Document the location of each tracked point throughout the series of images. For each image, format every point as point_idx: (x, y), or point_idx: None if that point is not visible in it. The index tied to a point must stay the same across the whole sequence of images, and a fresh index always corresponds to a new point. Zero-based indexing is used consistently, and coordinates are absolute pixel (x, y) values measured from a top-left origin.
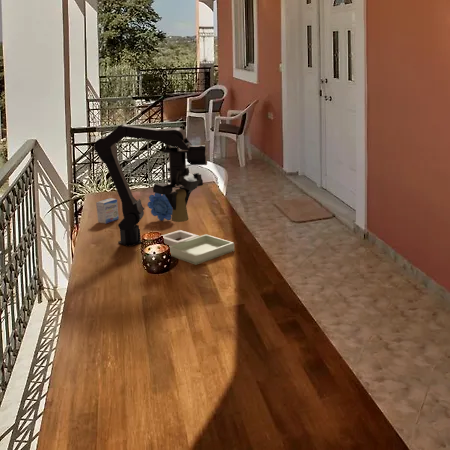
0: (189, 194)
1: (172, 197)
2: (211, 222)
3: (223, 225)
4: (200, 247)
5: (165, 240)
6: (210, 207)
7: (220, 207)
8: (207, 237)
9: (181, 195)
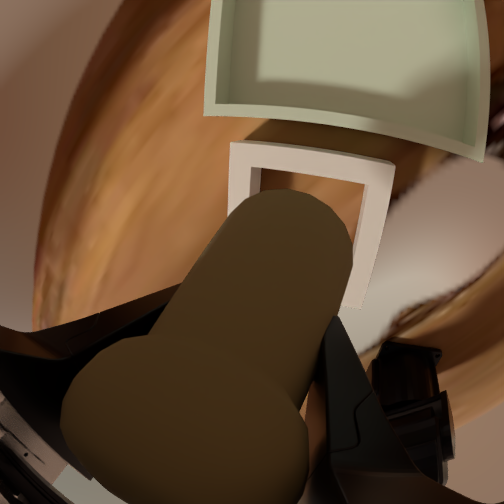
0: (56, 330)
1: (413, 465)
2: (86, 259)
3: (76, 210)
4: (319, 61)
5: (374, 257)
6: (56, 321)
7: (43, 302)
8: (219, 94)
9: (215, 415)
